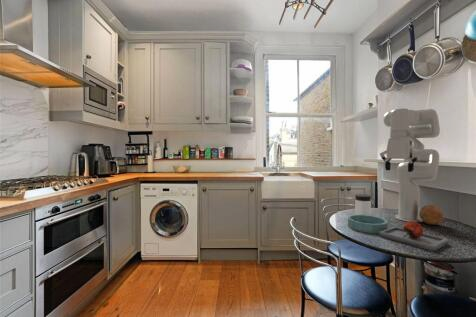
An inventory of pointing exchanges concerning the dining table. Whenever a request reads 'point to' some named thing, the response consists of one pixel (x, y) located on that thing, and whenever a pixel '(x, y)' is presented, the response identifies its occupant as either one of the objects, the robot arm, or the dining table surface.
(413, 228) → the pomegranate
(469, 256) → the dining table surface
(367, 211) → the jar
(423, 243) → the tray
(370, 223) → the teal polygonal ring
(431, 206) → the onion
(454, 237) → the dining table surface
